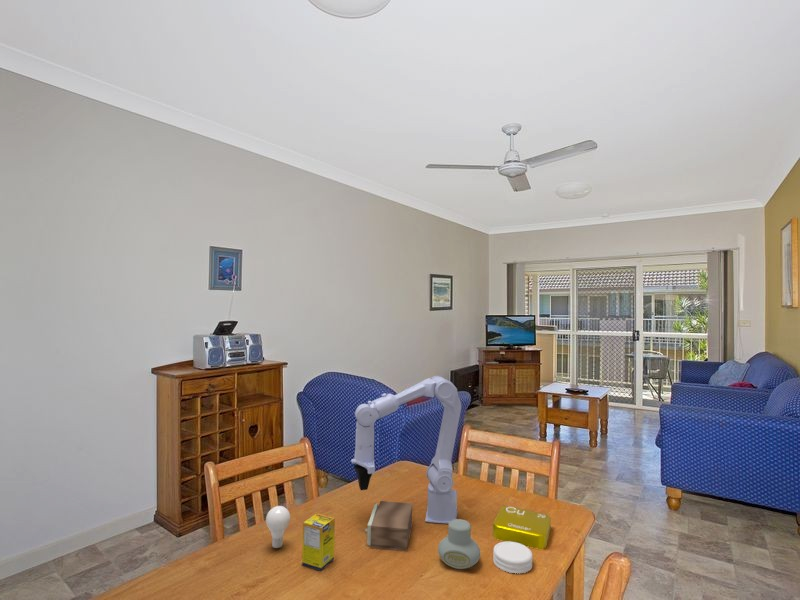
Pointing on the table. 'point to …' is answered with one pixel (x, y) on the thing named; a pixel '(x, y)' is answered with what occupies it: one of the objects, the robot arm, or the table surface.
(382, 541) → the walnut cabinet
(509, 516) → the element tile
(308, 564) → the supplement box
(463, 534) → the air freshener
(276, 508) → the lightbulb
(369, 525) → the cabinet door
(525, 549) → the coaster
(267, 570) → the table surface
